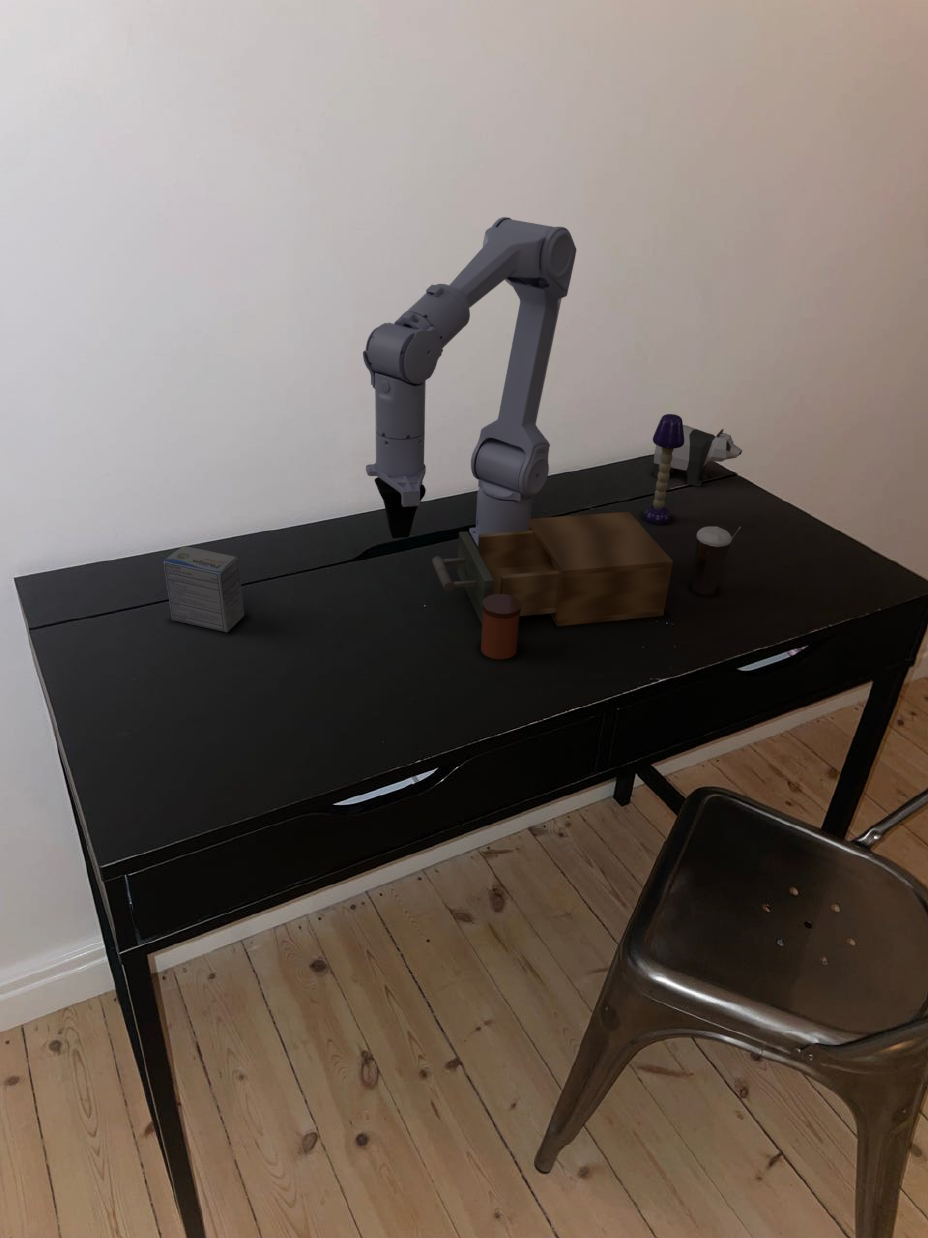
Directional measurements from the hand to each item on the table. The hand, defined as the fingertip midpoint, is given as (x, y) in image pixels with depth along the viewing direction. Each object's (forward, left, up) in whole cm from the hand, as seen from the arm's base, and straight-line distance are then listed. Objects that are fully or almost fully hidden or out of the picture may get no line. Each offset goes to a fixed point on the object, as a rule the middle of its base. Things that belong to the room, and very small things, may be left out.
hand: (399, 535), depth 118 cm
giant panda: (-33, +56, -10) cm, 66 cm away
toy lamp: (-19, +44, -10) cm, 49 cm away
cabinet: (+1, +26, -10) cm, 28 cm away
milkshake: (+3, +42, -10) cm, 43 cm away
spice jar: (+12, +10, -10) cm, 19 cm away
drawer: (+1, +14, -9) cm, 17 cm away
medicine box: (-1, -24, -10) cm, 26 cm away
